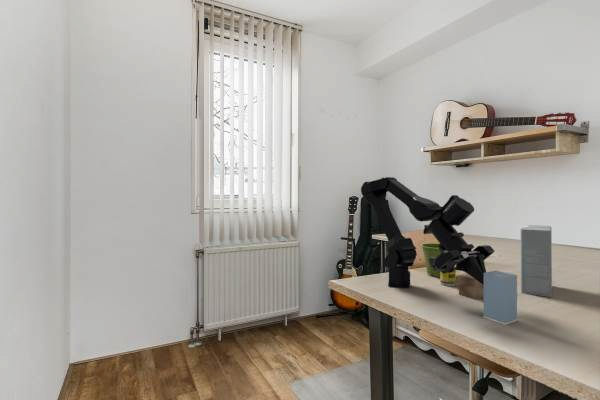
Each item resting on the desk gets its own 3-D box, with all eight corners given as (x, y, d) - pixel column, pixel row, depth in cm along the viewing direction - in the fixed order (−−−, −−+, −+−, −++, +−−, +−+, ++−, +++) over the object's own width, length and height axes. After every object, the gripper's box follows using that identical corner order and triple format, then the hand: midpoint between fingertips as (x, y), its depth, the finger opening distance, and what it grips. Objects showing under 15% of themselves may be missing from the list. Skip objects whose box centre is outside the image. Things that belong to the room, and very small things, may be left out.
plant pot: (414, 272, 120) (414, 243, 120) (438, 270, 123) (438, 242, 123) (435, 280, 108) (435, 248, 108) (462, 277, 112) (462, 247, 112)
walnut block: (458, 294, 93) (458, 274, 93) (469, 292, 95) (469, 272, 95) (474, 299, 88) (474, 278, 88) (485, 296, 91) (485, 276, 91)
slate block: (483, 317, 75) (483, 272, 75) (495, 313, 78) (495, 270, 78) (505, 324, 71) (505, 277, 71) (516, 320, 73) (517, 274, 73)
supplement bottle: (449, 286, 101) (449, 261, 101) (437, 283, 105) (437, 258, 105) (458, 284, 103) (458, 260, 103) (446, 281, 107) (446, 257, 107)
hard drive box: (523, 281, 106) (523, 224, 106) (551, 285, 101) (552, 225, 101) (519, 292, 94) (520, 228, 94) (552, 298, 89) (552, 229, 89)
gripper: (450, 250, 96) (486, 295, 86) (408, 256, 87) (442, 306, 78) (475, 227, 89) (516, 273, 79) (431, 231, 80) (472, 283, 71)
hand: (487, 284), depth 77 cm, fingers closed
